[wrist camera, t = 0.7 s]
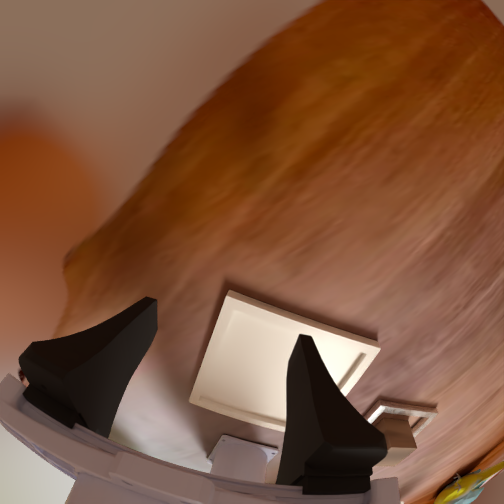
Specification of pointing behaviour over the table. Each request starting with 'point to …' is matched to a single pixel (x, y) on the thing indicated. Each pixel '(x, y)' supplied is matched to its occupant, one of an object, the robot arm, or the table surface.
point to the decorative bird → (466, 486)
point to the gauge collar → (403, 413)
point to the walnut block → (396, 440)
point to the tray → (269, 360)
